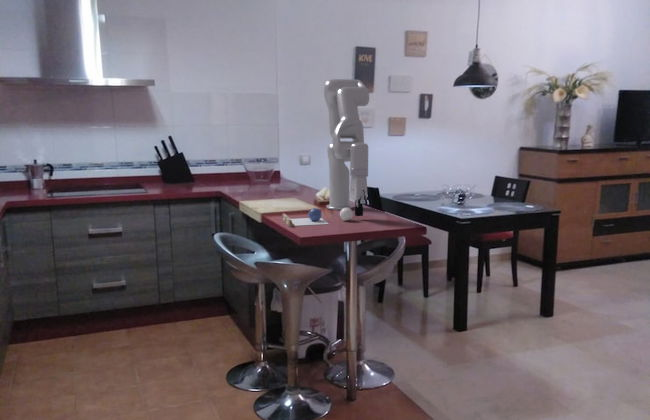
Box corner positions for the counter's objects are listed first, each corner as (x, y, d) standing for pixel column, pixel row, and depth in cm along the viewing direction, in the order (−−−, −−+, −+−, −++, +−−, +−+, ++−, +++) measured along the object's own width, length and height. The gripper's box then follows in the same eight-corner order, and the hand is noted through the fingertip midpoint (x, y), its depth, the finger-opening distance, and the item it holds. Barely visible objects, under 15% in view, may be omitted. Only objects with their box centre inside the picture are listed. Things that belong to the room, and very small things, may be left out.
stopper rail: (282, 219, 228) (282, 213, 227) (284, 219, 228) (284, 213, 228) (289, 226, 213) (289, 220, 212) (292, 226, 213) (291, 220, 212)
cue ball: (346, 203, 225) (351, 213, 228) (335, 210, 225) (340, 220, 227) (352, 208, 221) (356, 218, 224) (341, 215, 220) (345, 225, 223)
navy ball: (321, 208, 226) (318, 221, 227) (309, 206, 225) (306, 218, 226) (323, 210, 221) (320, 223, 221) (310, 208, 220) (308, 221, 220)
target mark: (288, 219, 228) (288, 219, 227) (320, 217, 231) (320, 217, 231) (295, 226, 214) (295, 225, 214) (329, 224, 218) (329, 223, 218)
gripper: (345, 171, 231) (345, 213, 234) (356, 175, 216) (355, 219, 220) (362, 170, 232) (361, 212, 236) (373, 174, 218) (373, 218, 221)
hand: (358, 215), depth 228 cm, fingers closed
